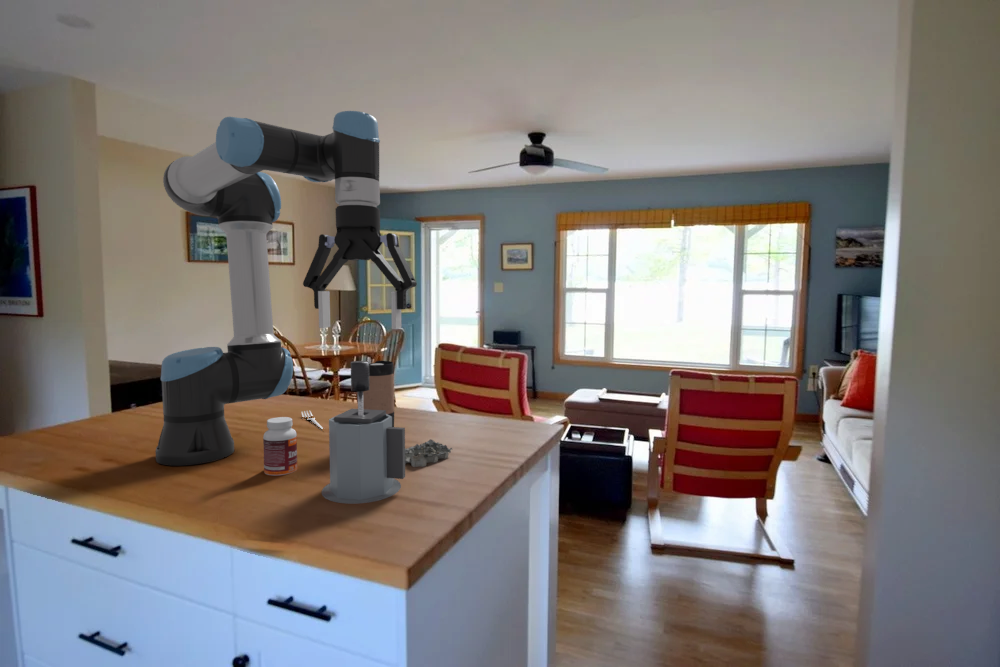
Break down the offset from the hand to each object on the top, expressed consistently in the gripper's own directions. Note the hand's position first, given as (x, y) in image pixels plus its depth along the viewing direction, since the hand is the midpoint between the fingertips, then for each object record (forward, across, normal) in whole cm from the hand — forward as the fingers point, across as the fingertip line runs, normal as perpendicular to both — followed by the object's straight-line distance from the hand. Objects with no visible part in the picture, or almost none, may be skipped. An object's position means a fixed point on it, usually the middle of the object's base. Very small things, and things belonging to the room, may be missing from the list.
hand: (360, 328), depth 96 cm
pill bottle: (+30, -20, +6) cm, 37 cm away
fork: (+30, -34, +44) cm, 64 cm away
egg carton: (+30, +5, +19) cm, 36 cm away
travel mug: (+30, -8, +26) cm, 41 cm away
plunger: (+27, 0, 0) cm, 27 cm away
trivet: (+30, 0, 0) cm, 30 cm away
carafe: (+29, +1, 0) cm, 29 cm away
